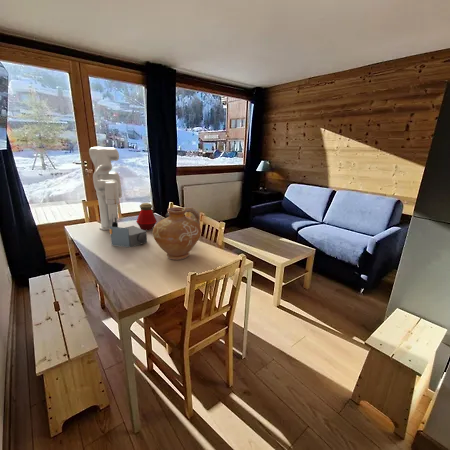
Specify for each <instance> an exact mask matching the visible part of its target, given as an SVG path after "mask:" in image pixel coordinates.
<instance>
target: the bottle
mask: <svg viewBox="0 0 450 450" xmlns="http://www.w3.org/2000/svg"><path fill="white" fill-rule="evenodd" d="M139 208H140V212H139V214H138V216H137V218H136V221H135V222H136V224H137V225H138V228H140V229H142V230H145V231H151V230H152V231H153V229H154V227H155V225H156V224H157V223H158V222H157V221H158V220H157V218H156V216H155V214H154V212H153V210H152V209H153V205H152V204H151V203H149V202H142V203H141V204H139Z"/></svg>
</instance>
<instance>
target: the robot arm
mask: <svg viewBox="0 0 450 450" xmlns="http://www.w3.org/2000/svg"><path fill="white" fill-rule="evenodd" d="M88 154H89V157H90V160H91V162H92V164H93V166H94V172H93V174H92V180H93V181H92V182H93V186H94V189H95V191H96V192H95V193H96V197H97V202H98V207H99V215H100V217H99V218H100V225H99V230H101V231H103V230H104V231H110V230H109V229H110V226H111V227H119V224H118V218H119V217H118V216H119V209H118V207H119V206H118V205H119V204H120V199H122V197H123V192H122V183H121V178H120V174H119V173H118V172H116V171H112V170H113V165H112V162H117V161H119V159H120V153H119V151H118V149H117V148H115V147H111V146H110V147H108V146H107V147H104V146H93V147H90V148H89V150H88Z"/></svg>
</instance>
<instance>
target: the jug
mask: <svg viewBox="0 0 450 450" xmlns="http://www.w3.org/2000/svg"><path fill="white" fill-rule="evenodd" d="M167 213H169V217H167V218H166V217H165V218H163V219H160V221H158V222H156V224H155V226H154V228H153V229H152V237H153V239H154V240H155V241H154V242H156V244H157V245H158V246H159V248H161V249H162V251H164V252H165V253H166V256H167V258H168V259H170V260H174V261H178V260H179V261H180V260H184V259H186V258H188V257H189V255H190V253H189V252H190V251H191V250H192V249H193V248H194V246H195V245H196V244H197V243H198V241H199V240H200V238H201V235H202V228H201V222H200V221H201V217H200V212H198V210H196V209H194V208H193V207H188V206H187V207H184V206H183V207H181V206H173V207H169V208H167ZM186 213H190V214H192V215H193V216H194V218H192V217H189V216H186V215H185V214H186Z"/></svg>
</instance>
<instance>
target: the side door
mask: <svg viewBox="0 0 450 450" xmlns="http://www.w3.org/2000/svg"><path fill="white" fill-rule="evenodd" d="M108 231H109V234H110V241H111V246H116V247H117V246H118V247H126V248H130V241H129V229H128V228H126V227H120V226H118V227H111V226H110V229H109V230H108Z"/></svg>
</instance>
